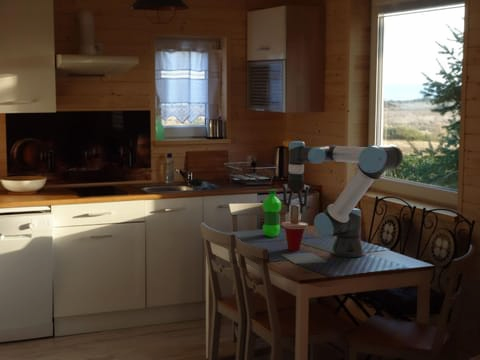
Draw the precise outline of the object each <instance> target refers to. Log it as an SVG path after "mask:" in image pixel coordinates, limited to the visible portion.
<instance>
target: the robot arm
mask: <svg viewBox="0 0 480 360" xmlns="http://www.w3.org/2000/svg"><path fill="white" fill-rule="evenodd" d="M403 159H404V155H403V151H402V150H401V149H400V147H398V146H397V145H394V144H389V143H388V144H381V145H380V144H379V145H376V144H373V145H369V146H366V147H365V146H346V145H345V146H343V145H341V146H339V145H334V144H333V145H325V146H324V145H323V146H306V144H305V141H299V140H294V141H290V142H289V147H288V179H287V182H286V183H285V184H282V185H281V187H282V190H283V205H284V206H286V213H288V220H290V221H291V205H292V199H293V194H294V192H296V193H297V196H298V203H299V211H298V220H299V221H301V217H302V214H303V213H304V207H306V206H307V205H308V195H309V194H308V193H309V188H310V186H309V185H306V184H305V181H304V178H305V174H304V172H305V163H310V164H314V165H315V164H322V163H323V162H338V163H339V162H340V163H341V162H342V163H355V164H356V163H357V168H358V169H357V171H355V173H354V175H353V176H352V178H350V180H349V182H348V184H347V185H346V186H345V188H344V189H343V190H342V192H341V193H340V194H339V196H338V197H337V199H336V200H335V201H334V203H331V204H328V206H327V207H326V209H324V211H323V212H320V213H317V215H316V216H315V217H314V219H313V220H314V221H313V225H314V229H315V232H316V233H317V234H318V235H319V236H320V237H322V238H326V239H327V238H332V237H335V240H334V242H333V245H332V249H331V254H332V255H333V256H336V257H343V258H358V257H362V256H364V249H363V244H362V240H361V231H362V230H361V228H362V211H361V209H359V208H356V206H357V204H358V203H359V201H360V200H361V199H362V197H363V196H364V195H365V193H366V192H367V191H368V189H369V188H370V187H371V185H372V184H373V182H374V181H379V179H381V177H382V176H383V174H384V173H385V172H387V171H394V170H395V169H397V168H399V167H400V166H401V165H402V162H403ZM287 189H289V190H290V191H289V195H287V194H288V192H287V191H288V190H287ZM303 189H304V194H303V195H304V197H303V196H302V190H303ZM287 196H288V197H287Z"/></svg>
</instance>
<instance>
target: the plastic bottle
mask: <svg viewBox="0 0 480 360" xmlns="http://www.w3.org/2000/svg"><path fill="white" fill-rule="evenodd" d="M268 194H269V196H267V197H266V198H264V200H263V202H262V210H263V211H264V223H263V225H262V232H263V234H264V235H265V236H266V237H268V236H269V238H274V237H277V236H278V235H280V232H281V227H280V226H281V225H280V212H281V210H282V201H281V200H280V199H279V198H278V197H276V195H277V189H268Z"/></svg>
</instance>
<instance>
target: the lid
mask: <svg viewBox="0 0 480 360" xmlns="http://www.w3.org/2000/svg"><path fill="white" fill-rule="evenodd" d="M290 206H291V220H290V221H282V222H281V226H282V227H284V226H286V227H305V228H307V227H309V225H308V223H307V222H301V221H300V220H298V211H299V206H300V204H290Z"/></svg>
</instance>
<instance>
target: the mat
mask: <svg viewBox="0 0 480 360" xmlns="http://www.w3.org/2000/svg"><path fill="white" fill-rule="evenodd" d="M280 256H281V257H283V259H284V258H285V260H287V261H290V263H293V264H294V265H306V264H321V263H322V264H323V263H326V264H327V263H328V261H327V259H324V258H322V257H321V256H318V255H317V254H315V253H314V252H300V253H283V254H281V255H280Z"/></svg>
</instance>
